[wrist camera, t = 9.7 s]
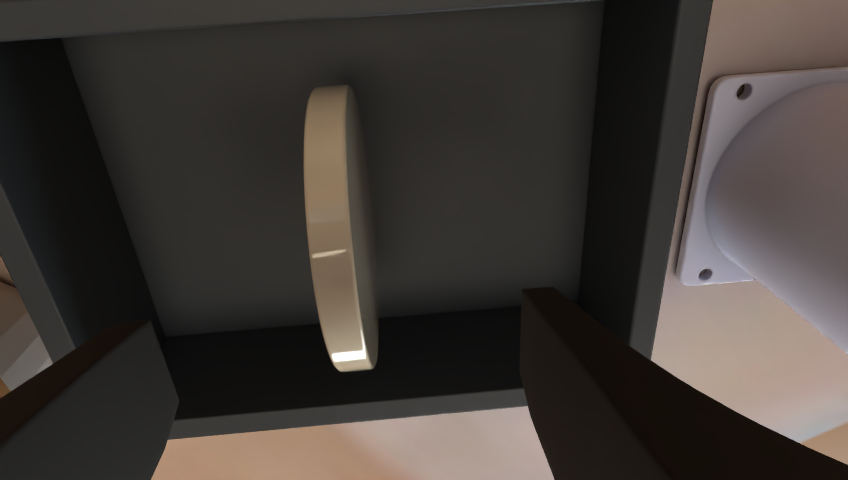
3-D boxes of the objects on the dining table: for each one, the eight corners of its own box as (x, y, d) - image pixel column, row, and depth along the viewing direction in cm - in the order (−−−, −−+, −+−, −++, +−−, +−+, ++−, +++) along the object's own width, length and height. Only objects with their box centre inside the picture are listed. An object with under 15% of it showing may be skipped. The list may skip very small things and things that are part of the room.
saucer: (356, 67, 16) (333, 113, 9) (380, 282, 19) (376, 436, 12) (328, 70, 16) (282, 117, 9) (356, 284, 19) (338, 439, 12)
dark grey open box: (625, -41, 16) (723, -49, 11) (590, 307, 21) (645, 395, 17) (30, -1, 15) (-122, 7, 11) (156, 345, 21) (92, 447, 16)
